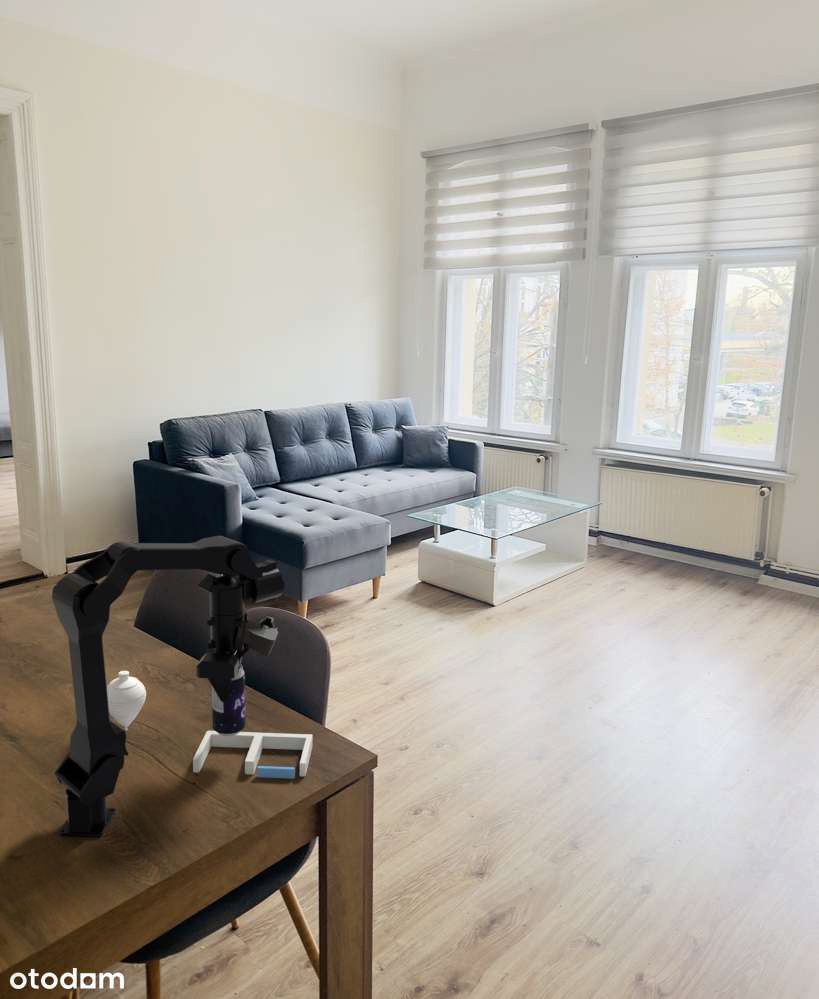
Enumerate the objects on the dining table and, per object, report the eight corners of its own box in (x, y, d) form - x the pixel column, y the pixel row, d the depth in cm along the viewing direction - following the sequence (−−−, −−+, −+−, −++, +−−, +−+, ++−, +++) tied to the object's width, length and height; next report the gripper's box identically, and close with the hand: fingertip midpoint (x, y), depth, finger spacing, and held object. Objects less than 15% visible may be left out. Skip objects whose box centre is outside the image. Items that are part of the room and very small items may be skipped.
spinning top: (102, 743, 146) (99, 683, 143) (106, 722, 153) (103, 665, 150) (146, 738, 148) (144, 679, 145) (148, 718, 155) (146, 661, 152)
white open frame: (304, 779, 137) (304, 766, 136) (192, 774, 137) (191, 761, 136) (312, 746, 147) (312, 734, 147) (207, 742, 147) (207, 730, 147)
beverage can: (237, 740, 138) (236, 676, 135) (207, 736, 139) (205, 672, 136) (250, 724, 143) (249, 663, 140) (221, 720, 144) (220, 659, 141)
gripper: (264, 632, 127) (264, 721, 130) (283, 593, 145) (282, 672, 148) (194, 630, 127) (196, 719, 130) (222, 590, 145) (223, 669, 148)
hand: (228, 693), depth 139 cm, fingers closed on beverage can, 6 cm apart
